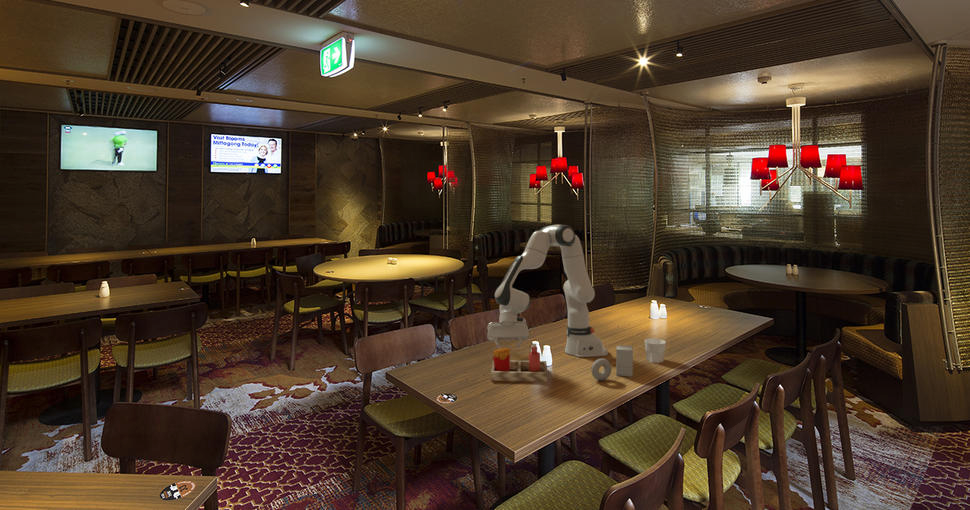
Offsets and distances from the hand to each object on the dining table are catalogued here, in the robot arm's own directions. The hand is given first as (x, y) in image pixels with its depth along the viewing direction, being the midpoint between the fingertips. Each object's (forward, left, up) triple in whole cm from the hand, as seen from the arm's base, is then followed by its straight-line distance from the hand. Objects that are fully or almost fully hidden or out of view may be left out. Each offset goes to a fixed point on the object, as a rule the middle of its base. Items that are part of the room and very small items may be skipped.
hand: (508, 347), depth 226 cm
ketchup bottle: (-12, +7, -11) cm, 18 cm away
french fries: (+3, +5, -12) cm, 13 cm away
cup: (-73, -19, -12) cm, 77 cm away
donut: (-42, +10, -12) cm, 45 cm away
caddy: (-5, +5, -11) cm, 14 cm away
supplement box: (-54, +1, -12) cm, 56 cm away
